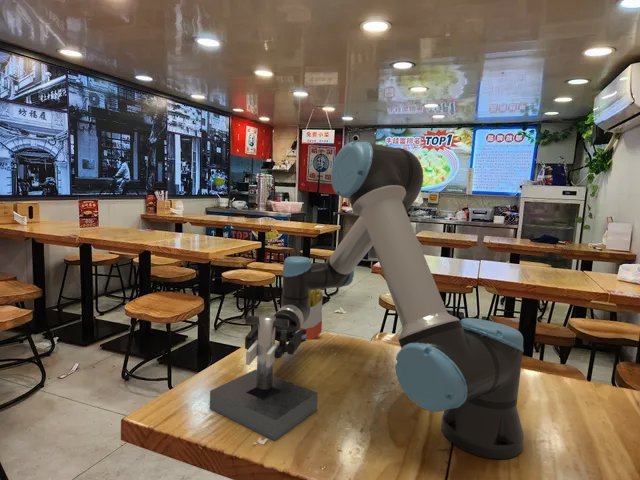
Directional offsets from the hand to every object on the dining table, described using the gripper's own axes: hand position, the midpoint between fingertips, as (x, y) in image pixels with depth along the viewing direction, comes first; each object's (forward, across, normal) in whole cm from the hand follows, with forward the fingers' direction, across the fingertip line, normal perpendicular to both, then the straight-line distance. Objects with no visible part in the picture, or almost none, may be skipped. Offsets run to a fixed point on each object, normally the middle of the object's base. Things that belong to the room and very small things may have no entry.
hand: (258, 359), depth 79 cm
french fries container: (-52, 0, -14) cm, 54 cm away
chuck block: (-5, 0, -13) cm, 14 cm away
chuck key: (-6, 0, -8) cm, 10 cm away
